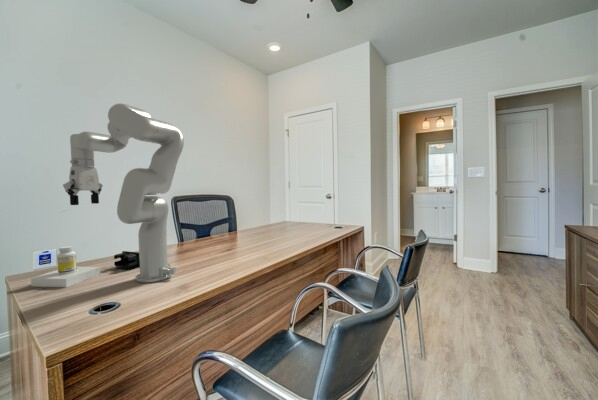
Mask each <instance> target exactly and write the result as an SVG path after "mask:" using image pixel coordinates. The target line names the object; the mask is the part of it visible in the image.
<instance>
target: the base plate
mask: <svg viewBox="0 0 598 400" xmlns="http://www.w3.org/2000/svg"><path fill="white" fill-rule="evenodd" d="M99 275H101V267H100V266H77V271H75V272H73V273H69V274H59V273H58V269H57V270H53V271H49V272H47V273H43V274H40V275H37V276H34V277H31V278H30V283H31V287H37V288H38V287H42V288H47V287H48V288H68V287H69V288H70V287H71V286H73V285H76V284H80V283H83V282H85V281H86V280H88V279H91V278H95V277H97V276H99Z"/></svg>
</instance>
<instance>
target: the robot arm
mask: <svg viewBox="0 0 598 400" xmlns="http://www.w3.org/2000/svg"><path fill="white" fill-rule="evenodd" d="M107 118H108V123H107V131H108V133H109V134H103V133H98V132H92V131H82V132H79V133H73V134H71V135H70V138H69V140H70V141H69V143H70V156H71V157H70V159H71V160H70V161H69V163H70V164H71V166H70V169H69V180H68V182H66V183H65V182H64V184H62V185H63V186H62V187H63V188H64V190H65V192H66V193H67V196H69V205H70V206H79V204H80V203H79V195H78V194H79V192H81V191H89V192H90V193H91V194H90V202H91V203H90V204H93V205H94V204H99V203H100V201H99V200H100V199H99V196H100V194H101V192H102V188H103V187H104V186H103V183H101V182H100V179H99V174H98V170H97V168H96V167H95V153H94V152H99V153H100V152H101V153H108V154H109V153H110V154H112V153H116V152H120V150H123V149H125V148H126V147H127V145H128V144H129V140H130V139H131V138H133V139H135V140H137V141H141V142H144V143H145V142H146V143H150V144H151V143H152V144H158V145H160V146H159V148H157V150H156V151H154V153H153V155H152V157H151V160H150V164H149V165H148V167H147V168H145V167H144V168H143V167H142V168H141V167H138V168H133V169H130V170H129V171H128V172H127V173H126V175H125V176H124V178H123V182H122V186H121V189H120V193H119V198H118V201H117V208H116V215H117V218H118V219H119V221H120V222H122V223H123V224H126V225H127V224H129V225H133V224H141V225H140V227H139V229H138V235H137V237H138V253H139V262H140V267H139V273H138V274H137V275H135V281H136V282H137V283H142V284H143V283H145V284H146V283H155V282H159V281H160V282H161V281H163V280H167V279H168V278H171V277H172V276H173V275H175V274H176V273H177V267H171V263H168V262H169V261H168V243H167V241H168V237H167V235H168V234H167V222H168V221H167V220H168V215H169V204H168V201H166V199H165V198H163V197H161V196H158V195H165V194H167V193H168V192H169V191H170V189H171V187H172V184H173V180H174V177H175V172H176V169H177V165H178V161H179V159H180V156H181V154H182V152H183V148H184V145H185V144H184V143H185V141H184V135H183V134H182V132H181V130H180V129H179V128H178V127H176V126H175V125H173V124H172V123H169V122H166V121H163V120H159V119H156V118H153V117H152V115H150V113H149V112H148V111H146V110H143V109H141V108H138V107H135V106H132V105H129V104H126V103H116V104H113V105H112V106H111V107H110V108H109V109H108V111H107Z"/></svg>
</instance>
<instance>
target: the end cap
mask: <svg viewBox="0 0 598 400" xmlns="http://www.w3.org/2000/svg"><path fill="white" fill-rule="evenodd" d="M113 259H114V260H116V261H114V264H113V265H114V266H115V268H114V269H115V270H120V271H121V270H122V271H133V270H136V269H140V262H139V251H137V252H136V251H128V250H126V251H125V250H122V252H121V253H116V254H114V255H113ZM117 259H119V260H117Z"/></svg>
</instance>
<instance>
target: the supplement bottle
mask: <svg viewBox="0 0 598 400" xmlns="http://www.w3.org/2000/svg"><path fill="white" fill-rule="evenodd" d="M58 250H59V253H58V254H57V256H56V258H57V259H56V260H57V270H58V273H59V274H69V273H73V272H75V271H77V267H78V266H77V263H78V262H77V253H76V252H75V251H74V246H73V245H66V246H60V247H59V248H58Z"/></svg>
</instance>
